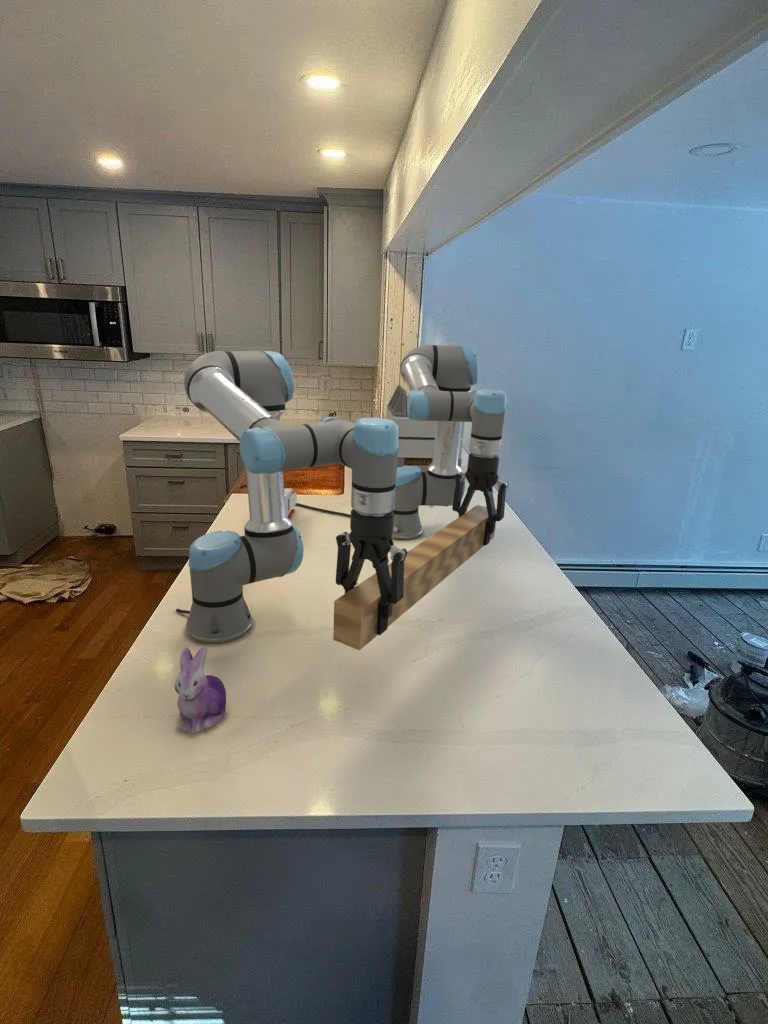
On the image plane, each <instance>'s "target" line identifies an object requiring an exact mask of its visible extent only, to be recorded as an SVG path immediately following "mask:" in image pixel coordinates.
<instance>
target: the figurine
mask: <svg viewBox="0 0 768 1024" xmlns="http://www.w3.org/2000/svg"><path fill="white" fill-rule="evenodd" d="M207 655H208V647H207V646H206V645H203V646H201V647H200V648H199V650H198V651H197V652H196V654H195V655H194V656H193V654H192V652H191V649H190V648H189V647H183V649H182V650H181V653H180V656H179V661H180V662H179V667H180V671H179V672H178V674H177V676H176V679H175V681H174V690H175V692H176V693H177V694H178V695H179V696H178V698H177V703H176V704H177V705H176V706H177V708H178V709H177V710H178V711H179V714H180V717H181V718H180V719H181V720H180V724H179V727H180V728H179V729H180V730H181V731H184V732H187V733H190V734H196V733H199V732H200V731H202V730H208V729H211V728H212V727H214V726H215V725H216V724H218V723H220V721H221V720H223V718H225V715H226V711H227V709H226V708H227V691H226V687H225V684H224V682H223V681H222V679H220V677H218V676H216V675H212V674H207V675H206V674H205V672H204V666H205V664H206V660H207Z"/></svg>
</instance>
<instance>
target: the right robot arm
mask: <svg viewBox="0 0 768 1024" xmlns="http://www.w3.org/2000/svg"><path fill="white" fill-rule="evenodd" d="M399 372H400V375H401V379H402V380H403V381H404V382H405V383H406V384H407V386H408V390H409V392H408V393H407V396H408V398H407V415H408V418H409V419H411V420H419V421H436V429H435V440H434V451H433V462H432V463H431V464H430V465H428V466H427V469H426V470H427V471H422V469H421V468H420V466H407V465H404V466H403V467H398V468H397V474H396V489H395V508H394V510H393V512H394V524H393V532H392V540H395V541H410V540H415V539H418V538H420V537H421V536H422V535H423V525H422V524H421V518H420V515H419V507H420V506H429V507H433V506H434V507H451V509H452V511H453V512H456V513H458V518H459V517H460V516H462V515H463V514H465V513H466V512H468V508H469V505H470V504H471V501H472V499H473V497H474V495H475V492H476V491H480V492H482V494H483V496H484V500H485V507H487V512H488V518H489V519H488V520H487V521H486V524H485V533H484V541H483V545H484V546H485V547H486V546H488V544H490V542H491V540H490V535H491V534H492V533H493V532H494V531H495V532H496V526H495V524H496V525H497V522H500V521H502V520H503V519H504V518H505V509H506V495H507V489H508V487H509V481H504V480H501V479H500V478H499V473H498V472H499V466H500V465H499V464H500V457H499V456H500V454H501V448H502V439H503V432H504V423H505V416H506V410H507V394H506V392H505V391H502V390H499V389H493V388H492V389H491V388H480V389H473V390H472V386H474V385H476V384H478V379H479V361H478V356H477V352H476V351H475V349H474V348H473V347H470V346H464V345H446V344H445V345H444V344H443V345H441V344H437V345H436V344H424V345H419V346H417V347H414V348H412V349H411V350H410V351H408V352H407V353H405V355H404V356H403V358H402V359H401V362H400V365H399ZM462 422H464V423H471V430H470V432H471V433H470V438H469V439H470V440H469V448H468V449H469V450H468V451H469V454H468V456H467V470H466V471H465V472H462V467H461V468H460V467H459V466H458V456H459V447H460V439H462V438H461V429H462ZM466 481H467V483H468V484H469V485H468V487H467V489H466ZM495 485H496V487H497V497H496V499H497V500H496V504H495V498H494V489H493V488H494V486H495ZM244 488H247V484H243V485H241V486H240V487H239V489H244ZM465 490H466V493H465ZM464 494H465V495H464ZM463 497H464V498H463ZM295 506H298V507H302V508H306V509H310V510H314V511H317V512H323V513H327V514H334V515H339V516H344V517H348V518H350V517H351V513H345V512H340V511H334V510H331V509H329V510H328V509H324V508H319V507H316V506H310V505H306V504H303V503H299V502H297V504H296V505H295ZM496 509H497V512H496ZM484 546H483V547H484Z"/></svg>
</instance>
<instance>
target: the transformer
mask: <svg viewBox="0 0 768 1024" xmlns="http://www.w3.org/2000/svg"><path fill="white" fill-rule="evenodd" d="M407 398H408V393H407V390H406V389H404V388H403V387H402V385H399V384H398V385H397V386H396V388H395V390H394V392H393V394H392V395H391V398H390V400H389V402H388V404H387V405H386V413H385V414H386V415H385V419H388V420H392V421H394V422H395V423H396V424H397V426H398V443H399V450H398V460H397V468H398V467H403V466H413V467H428V466H429V465H430V464H431V463H432V462H433V451H434V440H435V429H436V421H419V420H411V419H409V418H408V415H407ZM464 429H465V422H462V429H461V438H460V447H459V456H458V466H459V467H460V468H461V469H462V461H463V460H462V453H463V442H464V441H463V440H462V439H463V438H464V431H465V430H464Z"/></svg>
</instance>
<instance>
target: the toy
mask: <svg viewBox="0 0 768 1024" xmlns="http://www.w3.org/2000/svg"><path fill="white" fill-rule="evenodd" d="M284 495H285V510H286V517H287V518H288V519H289V518H291V516H292V515H293V514H294V512H295V509H294V507H295V506H297V505H296V504H297V503H298V501H297V492H294V493H293V488H290V487H289V488H285V487H284Z"/></svg>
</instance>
